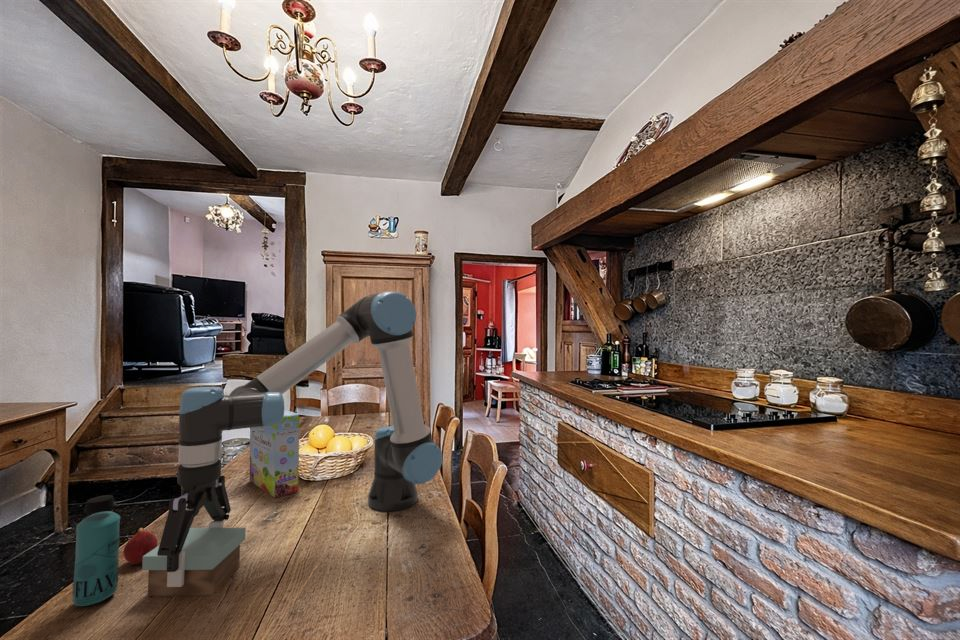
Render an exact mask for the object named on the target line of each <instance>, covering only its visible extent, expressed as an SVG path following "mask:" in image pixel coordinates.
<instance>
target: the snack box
mask: <svg viewBox="0 0 960 640" xmlns="http://www.w3.org/2000/svg"><path fill="white" fill-rule="evenodd" d="M299 446H300V413H296V412H293V411H291V410H287V409H284V417H283V420H282V421H281V422H280V423H279V424H274V425H269V426H266V427H265V426H260V427H251V428H249V481H250V483H252V484H253V485H255V486H257V487H258V488H260V489H261V490H262V491H264V492H266V493H267V494H268V495H269V496H271V497H273V498H274V499H275V498H279V496H280V497H283V496H285V495H289V493H290V494H293V493H297V492H299V470H300V468H299V466H300V465H299V462H300V460H299V457H300V453H299V452H300V451H299V450H300V447H299Z"/></svg>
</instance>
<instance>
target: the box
mask: <svg viewBox="0 0 960 640" xmlns="http://www.w3.org/2000/svg"><path fill="white" fill-rule="evenodd" d="M240 553H241V544H240V545H239V546H238V547H236V548H235V549H234V550H233V551H232V552H231V553H230V554H229V555H228V556H227V557H226V558H224V559H223V560H222V561H221V562H220V563H219V564H218V565H217V566H216V567H215V568H214V569H212V570H184V585H183V586H182V587H167V570H148V573H147V574H148V578H147V580H148V581H147V597H148V596H150V597H151V596H213V595H214V593H216V592H217V591H218V590H219V588H220V587H222V585H224V584H225V582H226V581H227V580H229V579H230V578H231V576H232V575H234V574H235V572H236V571H237V570H238V569H239V568H240V561H241V559H240V557H241V556H240Z"/></svg>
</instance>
